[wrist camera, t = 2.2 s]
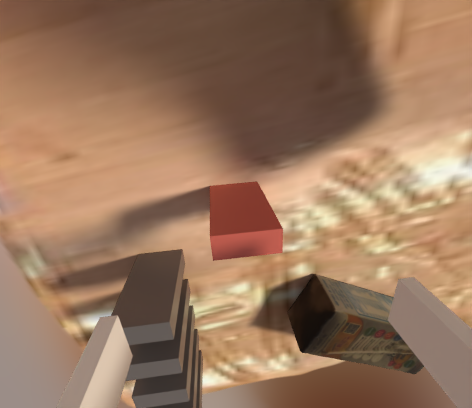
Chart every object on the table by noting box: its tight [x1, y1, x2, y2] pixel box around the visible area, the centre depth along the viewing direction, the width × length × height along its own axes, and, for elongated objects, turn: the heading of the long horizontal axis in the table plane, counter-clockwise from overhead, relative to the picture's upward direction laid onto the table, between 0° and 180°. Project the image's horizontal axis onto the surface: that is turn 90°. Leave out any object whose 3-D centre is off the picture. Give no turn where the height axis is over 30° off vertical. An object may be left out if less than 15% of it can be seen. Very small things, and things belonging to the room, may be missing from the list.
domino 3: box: [132, 306, 195, 408], centre depth 28 cm, size 2×5×10 cm, turn 94°
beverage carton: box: [288, 274, 424, 374], centre depth 33 cm, size 8×19×7 cm, turn 67°
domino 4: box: [147, 329, 199, 408], centre depth 30 cm, size 2×5×10 cm, turn 94°
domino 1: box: [111, 249, 185, 345], centre depth 24 cm, size 2×5×10 cm, turn 94°
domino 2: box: [126, 279, 190, 381], centre depth 26 cm, size 2×5×10 cm, turn 93°
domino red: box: [210, 182, 283, 261], centre depth 22 cm, size 2×5×10 cm, turn 94°
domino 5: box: [196, 350, 203, 408], centre depth 31 cm, size 2×5×10 cm, turn 94°
